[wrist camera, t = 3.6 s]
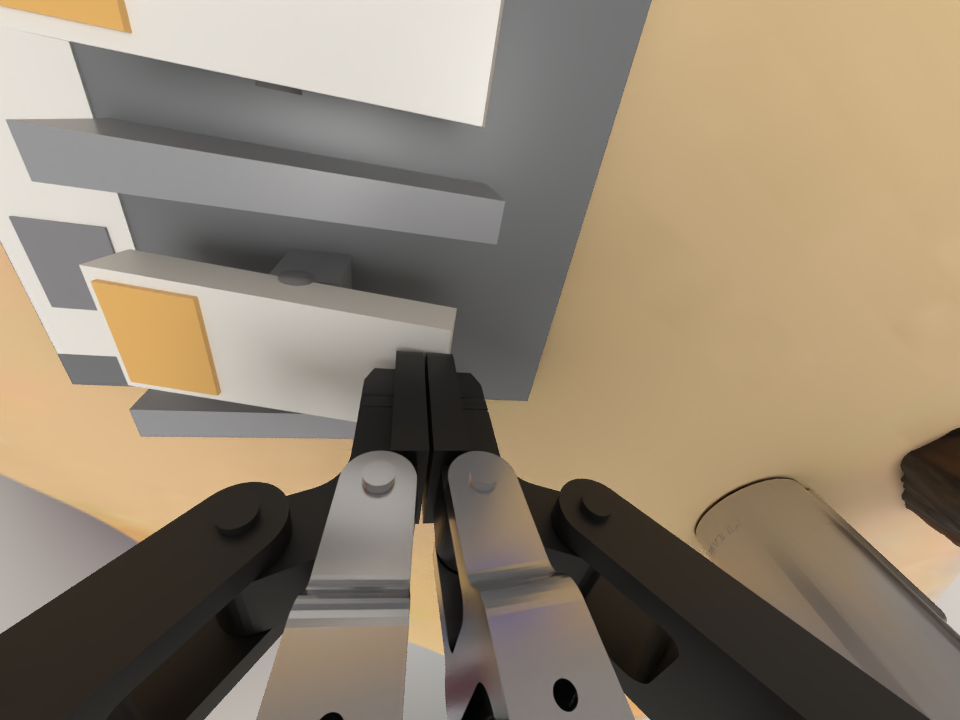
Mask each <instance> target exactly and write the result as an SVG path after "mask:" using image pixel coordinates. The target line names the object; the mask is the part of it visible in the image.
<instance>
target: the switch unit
mask: <svg viewBox="0 0 960 720" xmlns="http://www.w3.org/2000/svg"><path fill="white" fill-rule="evenodd" d="M651 1H652V0H504V7H503V13H502V20H501V26H500V33H499V39H498V46H497V52H496V59H495V65H494V72H493V78H492V85H491V91H490V97H489V104H488V110H487V117H486V123H485V128H484V127H479V126H474V125H469V124H464V123H460V122H455V121H450V120H445V119H440V118H435V117H431V116H426V115H421V114H416V113H411V112H407V111H402V110H397V109H392V108H387V107H382V106H378V105H373V104H368V103H363V102H358V101H354V100H349V99H344V98H339V97H334V96H330V95H325V94H320V93H315V92H310V91H305V90H302V95H298V94H293V93H288V92H283V91H278V90H273V89H268V88H264V87H259V86H255V80H253V79H248V78H243V77H238V76H233V75H228V74H224V73H219V72H214V71H209V70H204V69H200V68H195V67H190V66H185V65H180V64H176V63H171V62H166V61H161V60H156V59H151V58H147V57H142V56H137V55H132V54H127V53H123V52H118V51H113V50H108V49H103V48H98V47H94V46H89V45H84V44H79V43H74V42H70V41H65V40H60V39H55V38H51V37H46V36H41V35H37V34H32V33H27V32H23V31H18V30H13V29H9V28H4V27H0V242H1V244H2V246H3V248H4V250H5V252H6V254H7V256H8V258H9V260H10V262H11V264H12V266H13V268H14V270H15V271H16V273H17V275H18V277H19V279H20V281H21V283H22V285H23V287H24V289H25V291H26V293H27V295H28V297H29V299H30V301H31V303H32V305H33V307H34V309H35V311H36V313H37V315H38V317H39V319H40V321H41V323H42V325H43V327H44V329H45V331H46V332H47V334H48V336H49V338H50V340H51V342H52V344H53V346H54V348H55V350H56V352H57V354H58V356H59V358H60V360H61V362H62V364H63V366H64V368H65V370H66V372H67V374H68V376H69V378H70V380H71V382H72V384H82V385H109V386H130V385H128V383H127V381H126V378H125V376H124V374H123V371H122V369H121V366H120V364H119V361H118V359H117V357H116V354H115V352H114V349H113V347H112V344H111V342H110V339H109V337H108V335H107V332H106V330H105V327H104V325H103V322H102V320H101V318H100V315H99V313H98V310H97V308H96V305H95V303H94V300H93V298H92V296H91V293H90V291H89V288H88V286H87V283H86V281H85V279H84V276H83V274H82V271H81V269H80V266H79V265H80V264H83V263H86V262H89V261H92V260H96V259H99V258H102V257H105V256H109V255H112V254H115V253H118V252H121V251H125V250H128V249H132V250H137V251H143V252H148V253H154V254H159V255H165V256H170V257H176V258H181V259H187V260H192V261H198V262H203V263H209V264H215V265H220V266H226V267H231V268H237V269H242V270H248V271H253V272H259V273H264V274H270V275H275V276H278V274H279V273H281V272H283V271H288V270H302V271H307V272H310V273H312V274H313V275H314V278H315V283H320V284H325V285H331V286H336V287H342V288H347V289H353V290H358V291H364V292H369V293H375V294H381V295H386V296H392V297H397V298H403V299H408V300H414V301H419V302H425V303H430V304H436V305H441V306H447V307H452V308H457V311H456V318H455V324H454V331H453V337H452V344H451V350H450V354H453V357H454V362H455V367H456V372H461V373H471V374H472V375H473V376H474V377H475V378H476V380H477V381H478V382H479V383H480V384H481V386H482V390H483V394H484V398H485V399H491V400H518V401H528V398H529V394H530V391H531V388H532V385H533V381H534V378H535V375H536V372H537V369H538V365H539V362H540V359H541V356H542V352H543V349H544V346H545V343H546V340H547V336H548V333H549V330H550V327H551V323H552V320H553V317H554V314H555V310H556V307H557V304H558V301H559V298H560V294H561V291H562V288H563V285H564V281H565V278H566V275H567V272H568V269H569V265H570V262H571V259H572V256H573V252H574V249H575V246H576V243H577V240H578V236H579V233H580V230H581V227H582V223H583V220H584V217H585V214H586V210H587V207H588V204H589V201H590V198H591V194H592V191H593V188H594V185H595V181H596V178H597V175H598V172H599V169H600V165H601V162H602V159H603V156H604V152H605V149H606V146H607V143H608V139H609V136H610V133H611V130H612V127H613V123H614V120H615V117H616V114H617V110H618V107H619V104H620V101H621V98H622V94H623V91H624V88H625V85H626V81H627V78H628V75H629V72H630V69H631V65H632V62H633V59H634V56H635V52H636V49H637V46H638V43H639V39H640V36H641V33H642V30H643V27H644V23H645V20H646V17H647V14H648V10H649V7H650V4H651ZM129 410H130V413H131V415H132V417H133V420H134V422H135V424H136V427H137V429H138V431H139V434H140V436H144V437H237V438H330V439H354V436H355V430H356V424H357V422H352V421H346V420H340V419H334V418H328V417H322V416H315V415H309V414H303V413H297V412H291V411H285V410H278V409H272V408H266V407H260V406H254V405H247V404H241V403H235V402H229V401H223V400H217V399H210V398H204V397H198V396H192V395H186V394H179V393H173V392H167V391H161V390H155V389H148V390H147V391H146V393H145V394H144V395H143V396H142V397H141V398H140V399H139V400H138V401H137V402H136V403H135V404H134V405H133V406H132V407H131V408H130V409H129Z"/></svg>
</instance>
